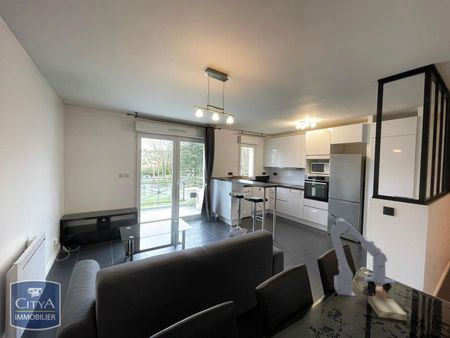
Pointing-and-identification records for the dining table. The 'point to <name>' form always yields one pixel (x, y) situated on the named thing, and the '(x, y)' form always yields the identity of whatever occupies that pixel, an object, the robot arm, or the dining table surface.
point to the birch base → (387, 308)
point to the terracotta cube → (380, 292)
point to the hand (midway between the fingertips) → (379, 294)
